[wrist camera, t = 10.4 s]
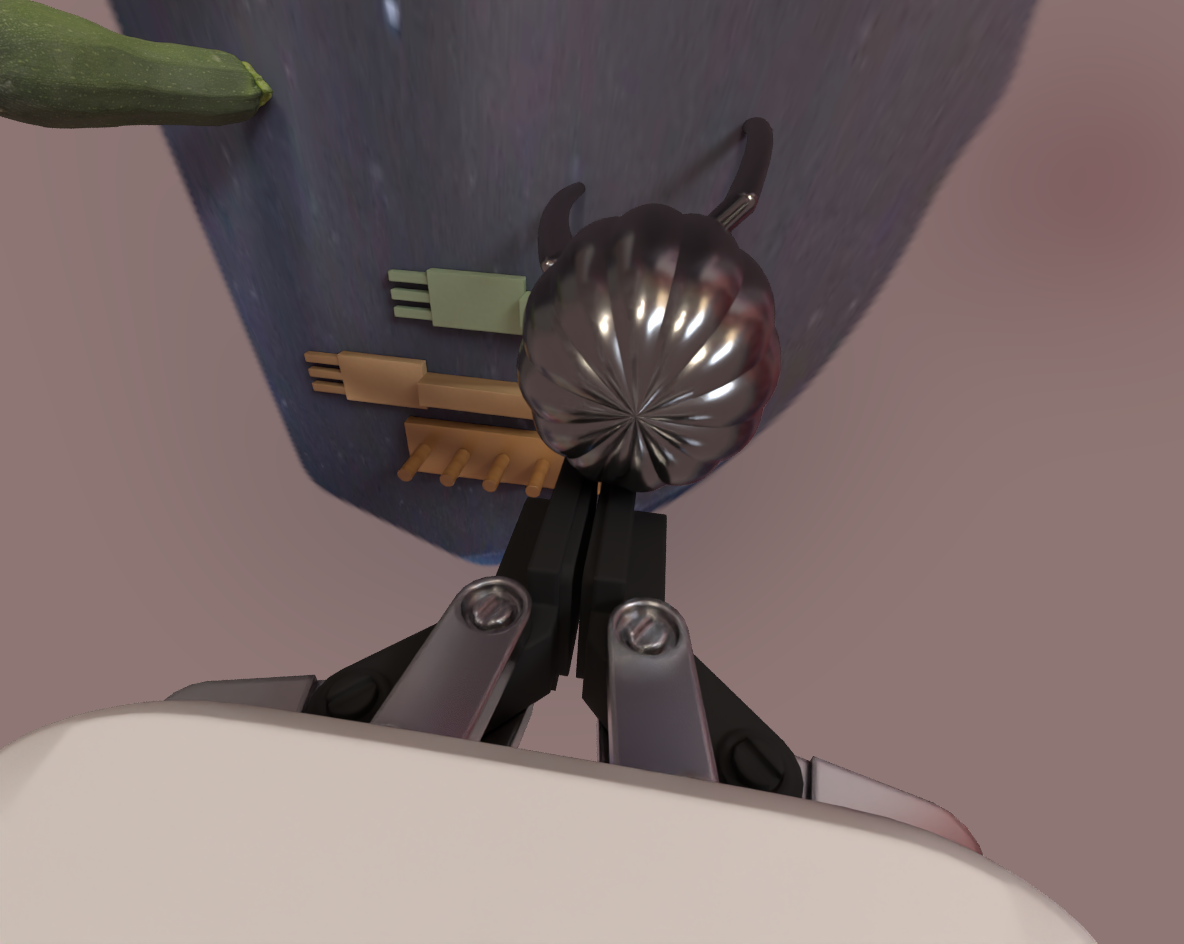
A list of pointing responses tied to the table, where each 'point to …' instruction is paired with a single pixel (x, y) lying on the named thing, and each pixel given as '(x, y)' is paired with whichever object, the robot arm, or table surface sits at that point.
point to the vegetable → (114, 76)
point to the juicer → (651, 336)
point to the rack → (480, 454)
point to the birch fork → (414, 385)
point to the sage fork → (464, 299)
